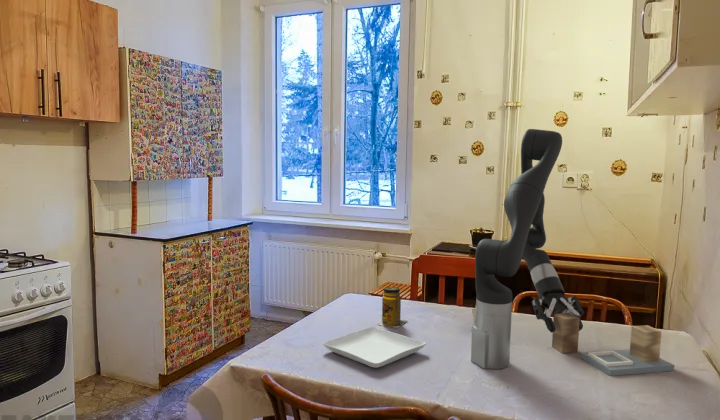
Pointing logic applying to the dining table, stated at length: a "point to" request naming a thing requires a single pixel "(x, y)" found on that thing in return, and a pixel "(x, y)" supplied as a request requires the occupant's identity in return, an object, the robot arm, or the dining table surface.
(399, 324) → the condiment
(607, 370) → the board
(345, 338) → the salad plate
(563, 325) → the walnut pillar
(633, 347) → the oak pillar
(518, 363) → the dining table surface
